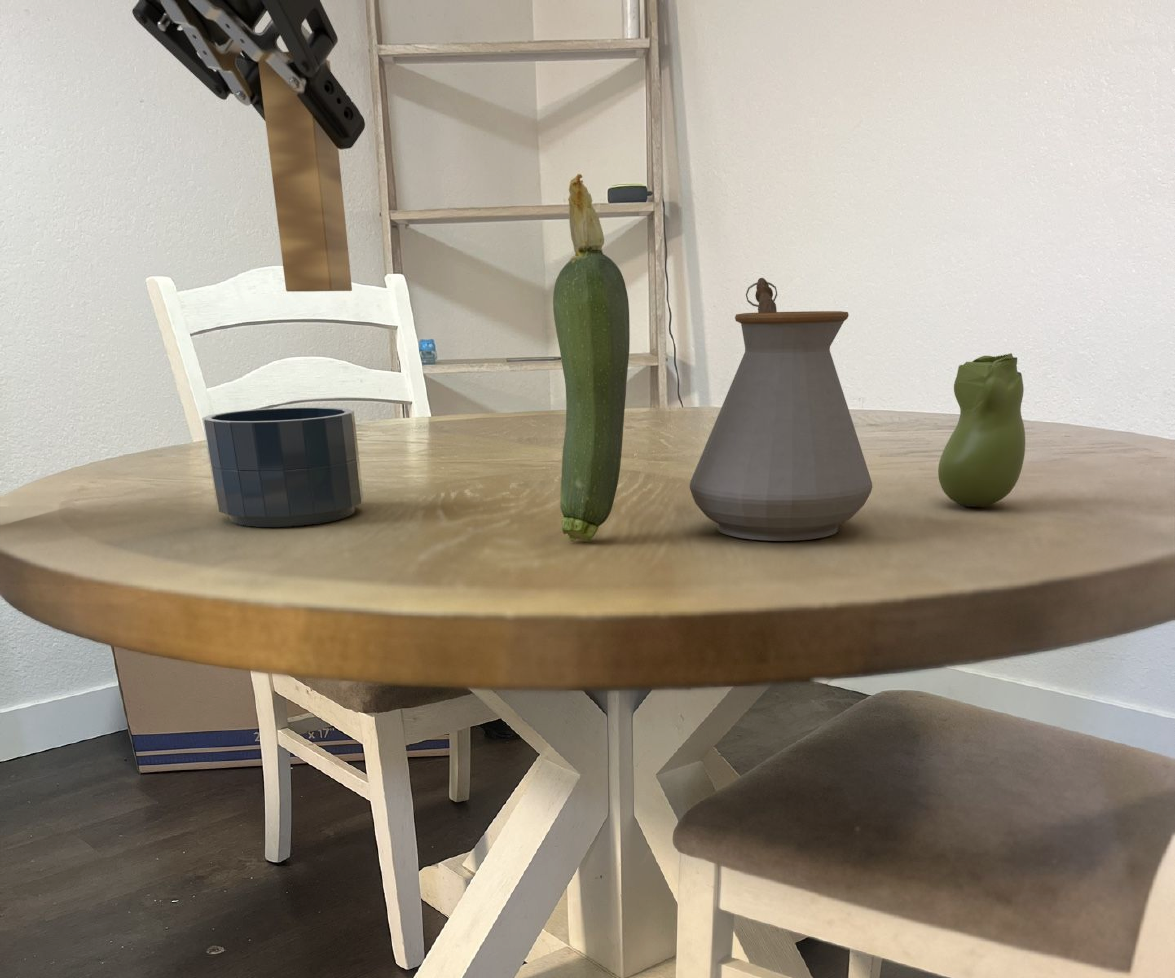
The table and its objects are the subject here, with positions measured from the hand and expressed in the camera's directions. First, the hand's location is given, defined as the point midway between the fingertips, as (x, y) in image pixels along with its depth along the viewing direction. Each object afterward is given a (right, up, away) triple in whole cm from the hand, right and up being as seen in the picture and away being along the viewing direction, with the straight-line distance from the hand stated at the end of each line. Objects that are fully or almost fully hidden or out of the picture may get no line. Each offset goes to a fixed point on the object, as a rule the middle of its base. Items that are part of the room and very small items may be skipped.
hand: (330, 141), depth 62 cm
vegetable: (+16, -23, +4) cm, 28 cm away
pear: (+43, -19, +12) cm, 48 cm away
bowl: (-6, -19, +14) cm, 24 cm away
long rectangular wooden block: (-1, -8, +2) cm, 8 cm away
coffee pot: (+28, -20, +10) cm, 36 cm away
